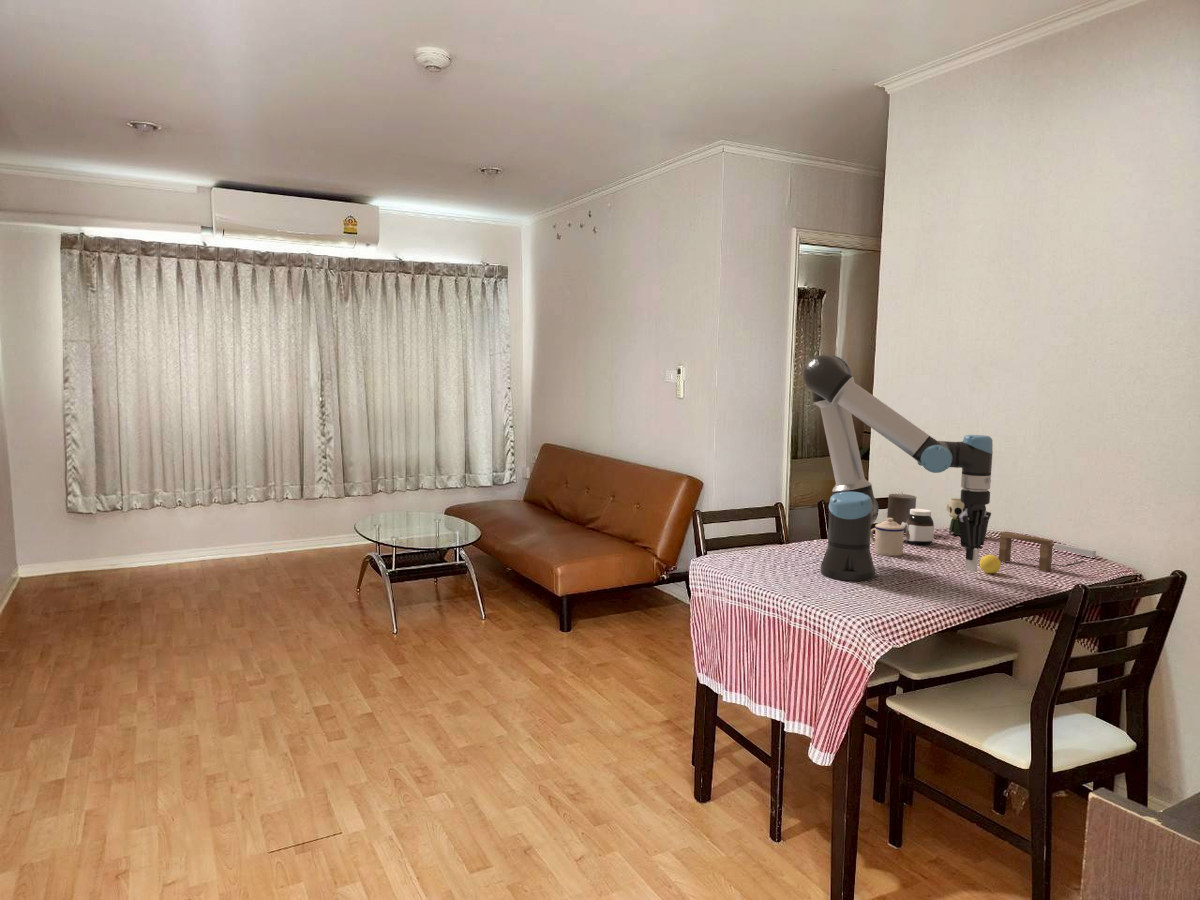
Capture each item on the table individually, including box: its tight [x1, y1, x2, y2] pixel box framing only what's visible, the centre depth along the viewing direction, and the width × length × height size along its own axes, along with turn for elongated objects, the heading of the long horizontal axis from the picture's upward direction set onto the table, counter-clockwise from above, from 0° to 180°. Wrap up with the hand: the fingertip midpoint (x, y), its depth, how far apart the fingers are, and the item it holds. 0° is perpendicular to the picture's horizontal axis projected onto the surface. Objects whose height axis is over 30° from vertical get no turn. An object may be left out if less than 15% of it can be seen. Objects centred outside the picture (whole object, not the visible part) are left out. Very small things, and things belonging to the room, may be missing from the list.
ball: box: [979, 554, 1002, 575], centre depth 225 cm, size 6×6×6 cm
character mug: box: [946, 498, 964, 536], centre depth 279 cm, size 11×7×13 cm, turn 27°
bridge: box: [998, 531, 1054, 572], centre depth 234 cm, size 3×14×9 cm, turn 31°
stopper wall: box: [1053, 543, 1097, 558], centre depth 250 cm, size 2×12×2 cm, turn 31°
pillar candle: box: [886, 492, 917, 533], centre depth 283 cm, size 10×10×15 cm
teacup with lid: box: [870, 518, 905, 557], centre depth 250 cm, size 12×9×12 cm
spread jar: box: [901, 508, 935, 546], centre depth 266 cm, size 12×11×12 cm
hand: (971, 570), depth 220 cm, fingers closed
